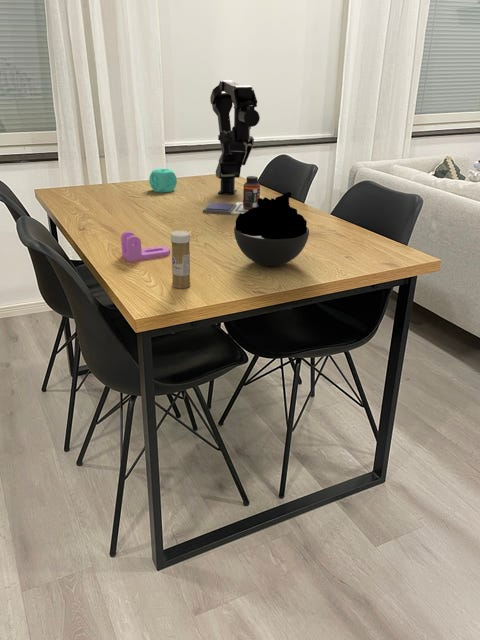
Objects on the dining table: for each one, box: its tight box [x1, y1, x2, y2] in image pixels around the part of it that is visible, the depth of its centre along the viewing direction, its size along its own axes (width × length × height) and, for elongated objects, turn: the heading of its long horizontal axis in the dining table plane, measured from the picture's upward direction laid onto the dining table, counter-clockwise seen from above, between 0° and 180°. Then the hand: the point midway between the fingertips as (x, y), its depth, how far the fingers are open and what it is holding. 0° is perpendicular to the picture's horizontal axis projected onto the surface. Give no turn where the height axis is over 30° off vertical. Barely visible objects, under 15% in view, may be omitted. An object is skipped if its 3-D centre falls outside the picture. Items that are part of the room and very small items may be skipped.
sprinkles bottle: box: [170, 230, 191, 289], centre depth 140 cm, size 5×5×14 cm
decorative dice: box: [148, 168, 178, 193], centre depth 235 cm, size 8×8×8 cm
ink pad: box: [202, 201, 237, 215], centre depth 210 cm, size 11×10×1 cm
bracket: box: [120, 230, 171, 262], centre depth 162 cm, size 13×6×7 cm, turn 119°
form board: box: [230, 201, 248, 216], centre depth 211 cm, size 16×14×1 cm
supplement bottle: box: [242, 175, 261, 210], centre depth 209 cm, size 6×6×11 cm
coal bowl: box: [233, 191, 310, 267], centre depth 155 cm, size 20×20×19 cm
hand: (241, 167), depth 215 cm, fingers open, 9 cm apart
